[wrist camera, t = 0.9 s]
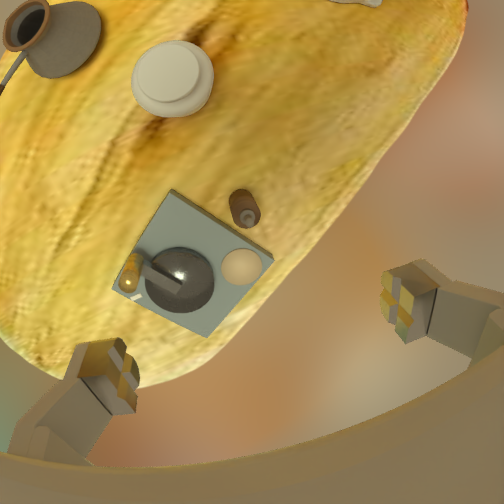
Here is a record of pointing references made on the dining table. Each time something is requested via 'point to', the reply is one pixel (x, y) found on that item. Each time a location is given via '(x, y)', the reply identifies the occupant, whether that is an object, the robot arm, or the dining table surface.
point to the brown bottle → (244, 209)
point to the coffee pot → (51, 37)
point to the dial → (171, 279)
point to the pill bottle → (173, 79)
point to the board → (208, 245)
